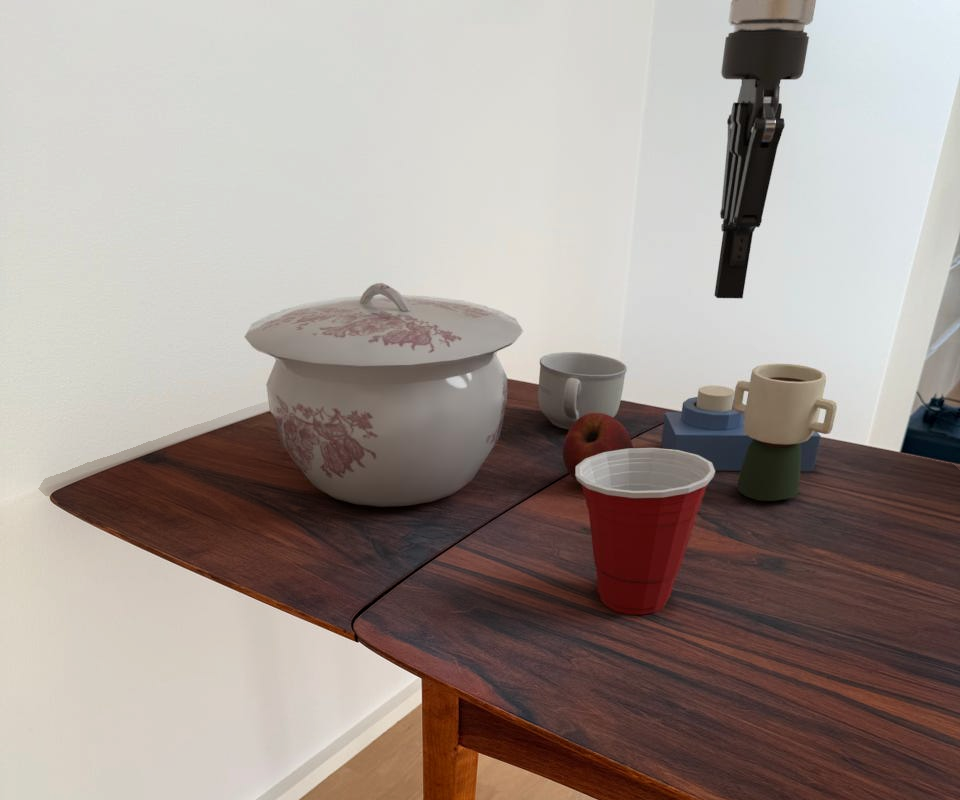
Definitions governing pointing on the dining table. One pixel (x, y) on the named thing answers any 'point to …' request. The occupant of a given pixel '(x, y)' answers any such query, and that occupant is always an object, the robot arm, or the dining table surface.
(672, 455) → the plastic cup
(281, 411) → the chamber pot
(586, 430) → the apple
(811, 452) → the blue rectangular block
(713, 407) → the button
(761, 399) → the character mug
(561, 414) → the teacup
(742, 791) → the dining table surface
